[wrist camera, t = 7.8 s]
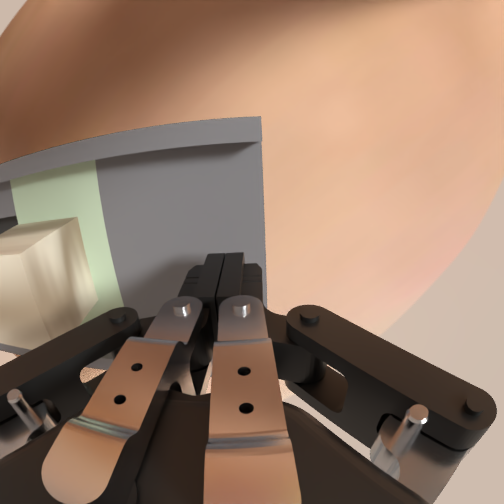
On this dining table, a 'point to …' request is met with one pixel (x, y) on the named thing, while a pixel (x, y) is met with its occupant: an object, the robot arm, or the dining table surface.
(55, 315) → the maple block
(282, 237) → the dining table surface
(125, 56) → the dining table surface
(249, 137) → the trap lane
